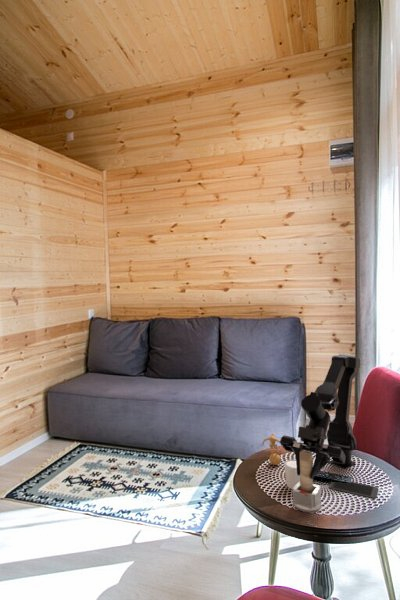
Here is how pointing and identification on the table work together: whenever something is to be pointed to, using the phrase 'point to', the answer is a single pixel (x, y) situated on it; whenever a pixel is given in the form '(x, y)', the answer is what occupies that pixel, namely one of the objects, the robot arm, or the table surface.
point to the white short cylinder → (291, 473)
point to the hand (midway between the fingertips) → (304, 476)
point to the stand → (307, 499)
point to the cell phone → (355, 489)
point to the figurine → (274, 456)
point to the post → (306, 471)
